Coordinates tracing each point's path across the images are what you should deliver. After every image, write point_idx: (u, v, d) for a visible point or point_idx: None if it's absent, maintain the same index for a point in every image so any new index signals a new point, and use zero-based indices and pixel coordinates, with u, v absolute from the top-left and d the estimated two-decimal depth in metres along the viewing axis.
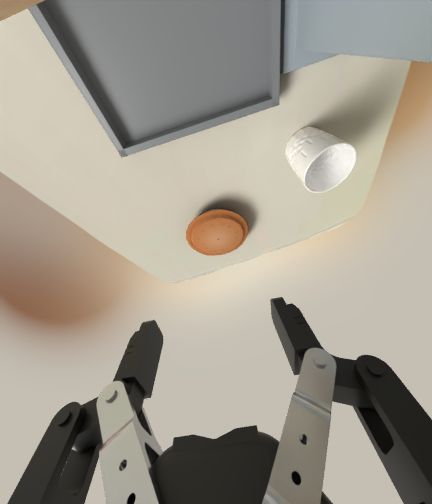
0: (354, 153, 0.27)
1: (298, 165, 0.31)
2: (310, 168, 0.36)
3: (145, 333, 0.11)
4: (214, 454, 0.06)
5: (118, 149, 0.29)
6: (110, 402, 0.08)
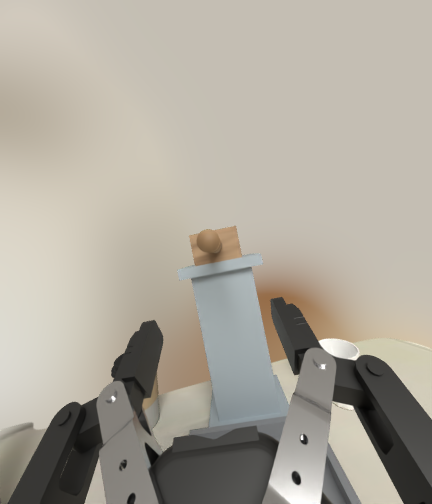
0: (319, 341, 0.41)
1: None
2: None
3: (145, 333, 0.11)
4: (214, 454, 0.06)
5: None
6: (110, 402, 0.08)
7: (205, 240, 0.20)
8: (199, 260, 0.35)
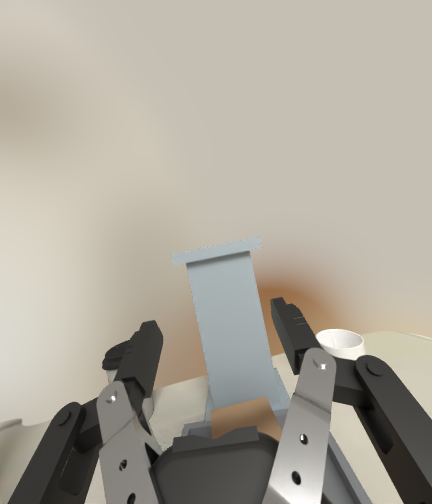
0: (321, 332, 0.39)
1: None
2: None
3: (145, 333, 0.11)
4: (214, 454, 0.06)
5: None
6: (110, 402, 0.08)
7: None
8: None
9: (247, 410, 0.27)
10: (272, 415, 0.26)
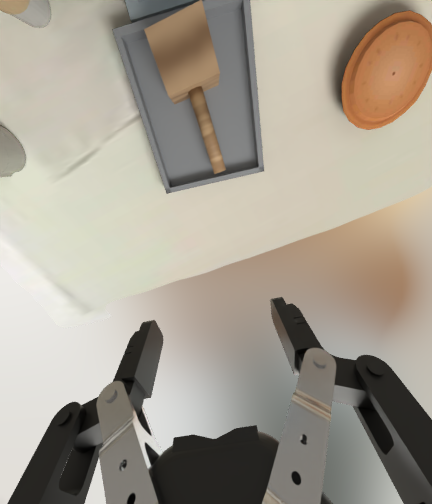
0: None
1: None
2: None
3: (145, 333, 0.11)
4: (214, 454, 0.06)
5: (258, 171, 0.40)
6: (110, 402, 0.08)
7: None
8: (178, 101, 0.35)
9: (183, 27, 0.27)
10: (208, 34, 0.27)
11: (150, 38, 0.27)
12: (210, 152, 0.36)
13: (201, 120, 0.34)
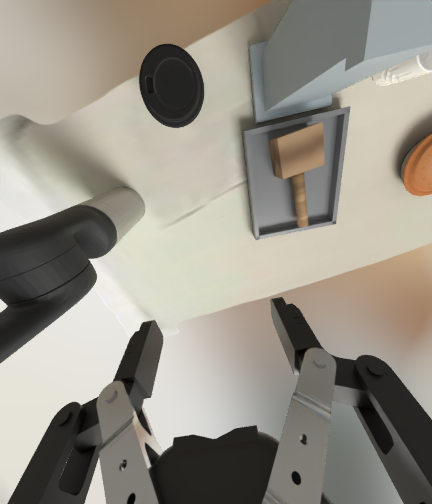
0: None
1: (414, 76, 0.33)
2: None
3: (145, 333, 0.11)
4: (214, 454, 0.06)
5: (331, 223, 0.50)
6: (110, 402, 0.08)
7: None
8: None
9: (305, 137, 0.37)
10: (322, 142, 0.37)
11: (280, 144, 0.37)
12: (300, 213, 0.46)
13: (299, 192, 0.44)
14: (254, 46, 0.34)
